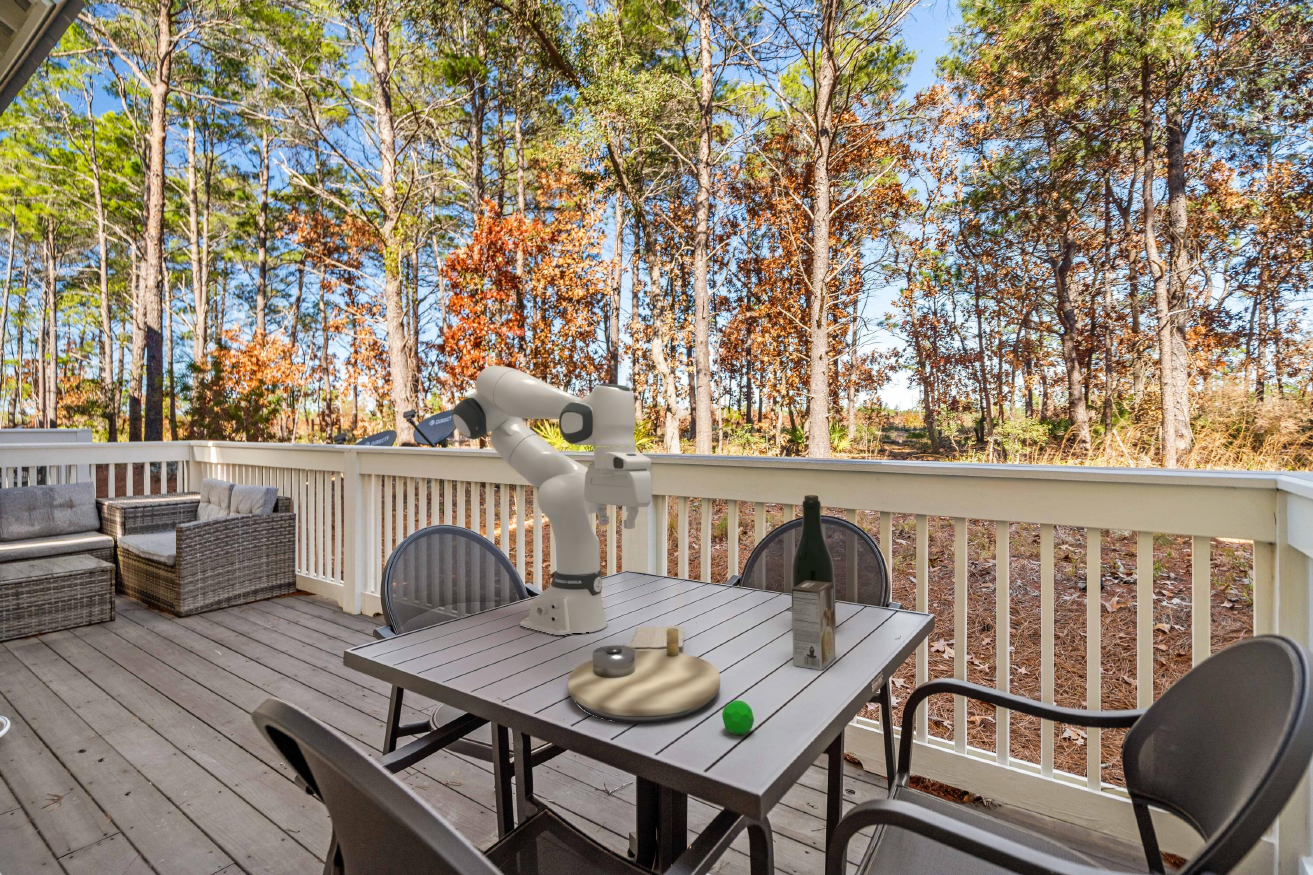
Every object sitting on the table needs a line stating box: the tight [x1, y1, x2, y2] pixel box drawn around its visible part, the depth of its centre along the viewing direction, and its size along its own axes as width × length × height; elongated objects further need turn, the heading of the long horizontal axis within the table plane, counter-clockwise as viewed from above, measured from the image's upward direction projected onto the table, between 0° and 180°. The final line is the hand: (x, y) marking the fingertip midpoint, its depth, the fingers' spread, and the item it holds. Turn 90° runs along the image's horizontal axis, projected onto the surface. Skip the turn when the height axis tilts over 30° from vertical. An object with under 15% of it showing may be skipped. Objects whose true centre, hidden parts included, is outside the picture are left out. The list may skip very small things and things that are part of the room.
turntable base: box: [575, 642, 716, 725], centre depth 117 cm, size 26×26×4 cm
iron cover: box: [592, 644, 635, 678], centre depth 119 cm, size 8×8×4 cm
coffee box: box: [791, 580, 836, 671], centre depth 131 cm, size 9×6×16 cm
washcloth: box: [631, 625, 685, 654], centre depth 144 cm, size 12×18×3 cm, turn 178°
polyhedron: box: [721, 700, 755, 736], centre depth 100 cm, size 5×5×5 cm
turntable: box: [567, 628, 721, 716], centre depth 117 cm, size 28×28×6 cm
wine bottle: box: [791, 494, 837, 631], centre depth 153 cm, size 10×10×33 cm
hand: (616, 526), depth 131 cm, fingers open, 8 cm apart
